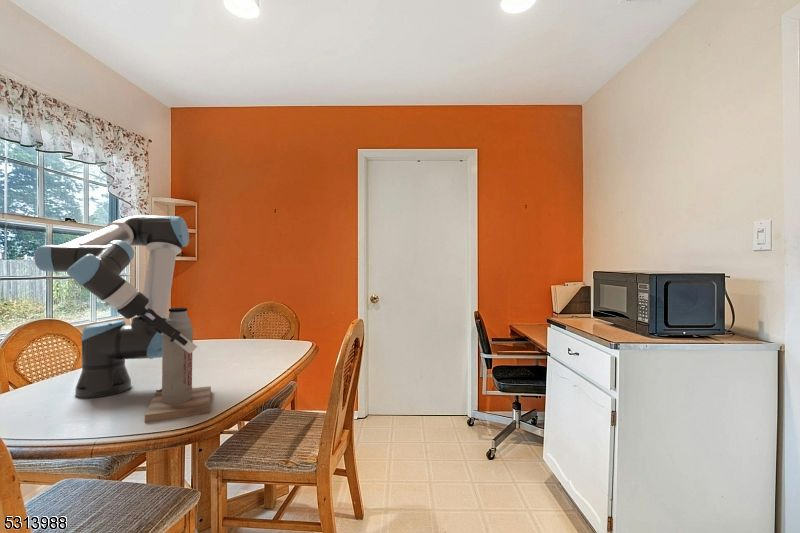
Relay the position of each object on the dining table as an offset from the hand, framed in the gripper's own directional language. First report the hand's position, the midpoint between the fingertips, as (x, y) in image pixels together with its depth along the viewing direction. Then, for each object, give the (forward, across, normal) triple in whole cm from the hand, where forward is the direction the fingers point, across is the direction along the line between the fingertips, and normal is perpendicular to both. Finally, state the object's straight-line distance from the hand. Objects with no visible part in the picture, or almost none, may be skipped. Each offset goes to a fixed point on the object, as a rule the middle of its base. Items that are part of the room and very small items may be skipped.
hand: (187, 346), depth 121 cm
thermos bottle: (+9, 0, -13) cm, 16 cm away
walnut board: (+11, 0, -14) cm, 18 cm away
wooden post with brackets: (+12, -16, -14) cm, 24 cm away
